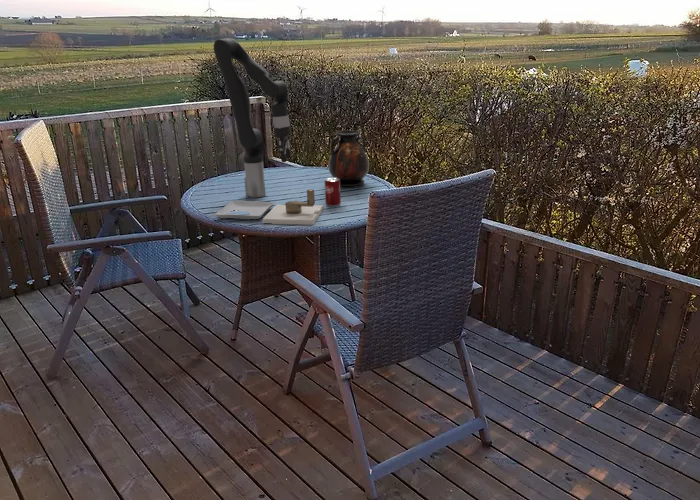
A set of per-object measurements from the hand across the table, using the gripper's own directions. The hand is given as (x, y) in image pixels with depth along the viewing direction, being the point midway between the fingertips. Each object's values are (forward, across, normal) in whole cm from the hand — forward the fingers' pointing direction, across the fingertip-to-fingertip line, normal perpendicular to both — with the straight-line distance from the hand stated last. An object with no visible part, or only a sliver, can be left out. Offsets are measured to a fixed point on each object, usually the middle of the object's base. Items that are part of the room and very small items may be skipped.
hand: (286, 160), depth 259 cm
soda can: (+22, +6, +21) cm, 31 cm away
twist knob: (+18, +26, +10) cm, 33 cm away
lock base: (+20, +26, +7) cm, 33 cm away
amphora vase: (+22, -31, +24) cm, 45 cm away
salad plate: (+19, +23, -16) cm, 34 cm away
